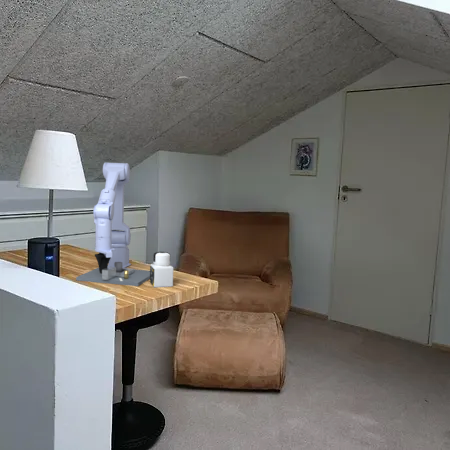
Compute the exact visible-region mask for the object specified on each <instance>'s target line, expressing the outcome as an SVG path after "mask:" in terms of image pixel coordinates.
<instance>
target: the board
mask: <svg viewBox="0 0 450 450" xmlns="http://www.w3.org/2000/svg"><path fill="white" fill-rule="evenodd" d="M122 265H123V262H115V263H114V267H116V272H122ZM107 268H108V267H107ZM134 269H135V268H134ZM75 280H76V281H78V282H79V281H80V282H88V283H89V282H90V283H101V284H110V285H121V286H131V287H133V286H134V287H139V286H141V285H142V284H144V283H146V282H147V281H150V270H146V269H135V270H134V272H133V273H131V274H129V277H128V279H124V277H119V276H115V277H113V278H111V279H109V280H104V279H102V274H101V273H100V271H99V267H96V268H93V269H92V270H89V271H87V272H85V273H83V274H80V275H78V276H76V278H75Z"/></svg>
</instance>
